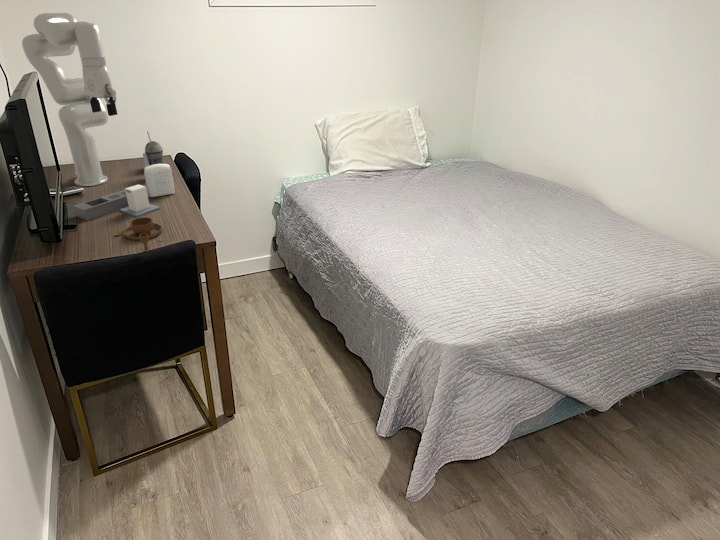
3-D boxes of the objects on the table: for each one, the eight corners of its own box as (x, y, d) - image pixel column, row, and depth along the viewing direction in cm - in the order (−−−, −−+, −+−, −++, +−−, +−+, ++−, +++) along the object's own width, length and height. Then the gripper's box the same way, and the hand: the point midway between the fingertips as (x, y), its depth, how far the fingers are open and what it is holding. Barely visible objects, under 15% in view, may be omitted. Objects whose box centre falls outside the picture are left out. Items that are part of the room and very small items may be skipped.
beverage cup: (170, 177, 224) (162, 131, 215) (154, 181, 219) (146, 134, 210) (162, 173, 229) (154, 128, 219) (146, 177, 224) (137, 131, 214)
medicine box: (155, 172, 230) (152, 153, 226) (146, 172, 230) (142, 153, 226) (162, 167, 237) (158, 148, 233) (152, 166, 237) (149, 148, 233)
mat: (120, 211, 190) (119, 209, 189) (143, 203, 197) (143, 201, 197) (136, 217, 185) (136, 215, 185) (160, 208, 192) (160, 207, 192)
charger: (128, 209, 189) (124, 188, 186) (142, 204, 194) (138, 184, 190) (136, 212, 187) (131, 191, 184) (149, 207, 192) (145, 186, 188)
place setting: (177, 228, 177) (174, 212, 175) (151, 254, 160) (147, 237, 157) (128, 226, 179) (124, 210, 176) (97, 251, 161) (92, 234, 158)
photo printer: (173, 190, 209) (168, 161, 204) (176, 193, 206) (171, 163, 200) (147, 195, 204) (141, 165, 199) (149, 198, 201) (143, 167, 195)
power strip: (75, 216, 185) (72, 204, 183) (134, 197, 203) (131, 186, 200) (86, 220, 182) (83, 208, 179) (145, 200, 199) (143, 189, 197)
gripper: (69, 62, 179) (81, 112, 188) (98, 65, 171) (109, 118, 179) (89, 60, 185) (100, 109, 193) (118, 63, 177) (128, 114, 185)
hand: (104, 113), depth 186 cm, fingers open, 9 cm apart
